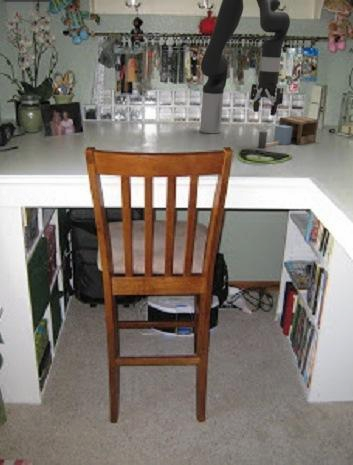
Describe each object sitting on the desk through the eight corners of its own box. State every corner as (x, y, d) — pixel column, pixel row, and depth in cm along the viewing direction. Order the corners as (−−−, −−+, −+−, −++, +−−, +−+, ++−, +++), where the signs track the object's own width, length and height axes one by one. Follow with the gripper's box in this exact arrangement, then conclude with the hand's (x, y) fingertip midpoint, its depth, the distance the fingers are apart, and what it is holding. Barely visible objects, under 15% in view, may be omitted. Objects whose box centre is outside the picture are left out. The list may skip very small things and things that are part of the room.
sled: (280, 141, 201) (282, 124, 198) (290, 143, 198) (292, 126, 195) (254, 146, 190) (256, 129, 187) (264, 148, 187) (266, 131, 184)
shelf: (293, 136, 210) (296, 115, 207) (315, 141, 203) (318, 119, 199) (277, 139, 203) (279, 117, 200) (298, 144, 196) (301, 121, 192)
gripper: (290, 71, 175) (284, 115, 181) (261, 67, 185) (256, 109, 191) (277, 72, 170) (272, 117, 177) (248, 68, 180) (244, 111, 187)
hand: (264, 113), depth 184 cm, fingers open, 8 cm apart
